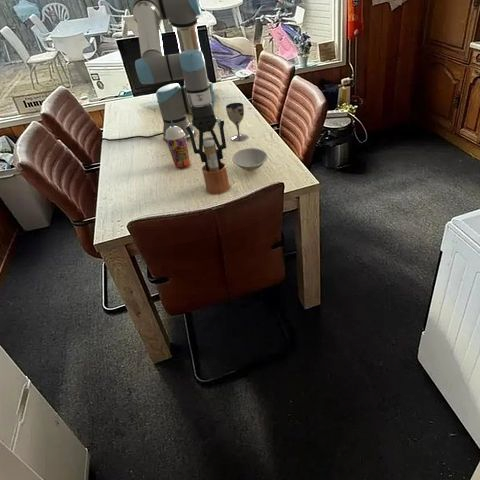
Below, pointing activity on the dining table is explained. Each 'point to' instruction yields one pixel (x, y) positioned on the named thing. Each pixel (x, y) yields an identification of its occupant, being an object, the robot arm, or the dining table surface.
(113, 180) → the dining table surface
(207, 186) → the tumbler
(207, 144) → the sprinkles bottle
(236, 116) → the wine glass
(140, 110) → the dining table surface
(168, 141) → the smoothie
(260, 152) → the dish
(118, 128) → the dining table surface
